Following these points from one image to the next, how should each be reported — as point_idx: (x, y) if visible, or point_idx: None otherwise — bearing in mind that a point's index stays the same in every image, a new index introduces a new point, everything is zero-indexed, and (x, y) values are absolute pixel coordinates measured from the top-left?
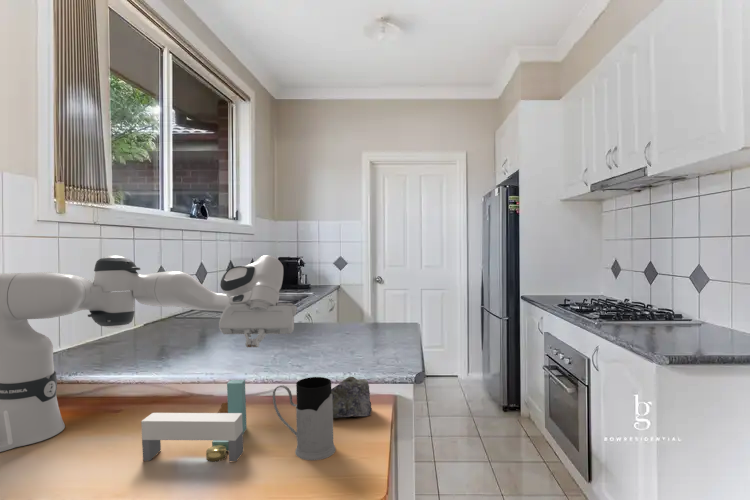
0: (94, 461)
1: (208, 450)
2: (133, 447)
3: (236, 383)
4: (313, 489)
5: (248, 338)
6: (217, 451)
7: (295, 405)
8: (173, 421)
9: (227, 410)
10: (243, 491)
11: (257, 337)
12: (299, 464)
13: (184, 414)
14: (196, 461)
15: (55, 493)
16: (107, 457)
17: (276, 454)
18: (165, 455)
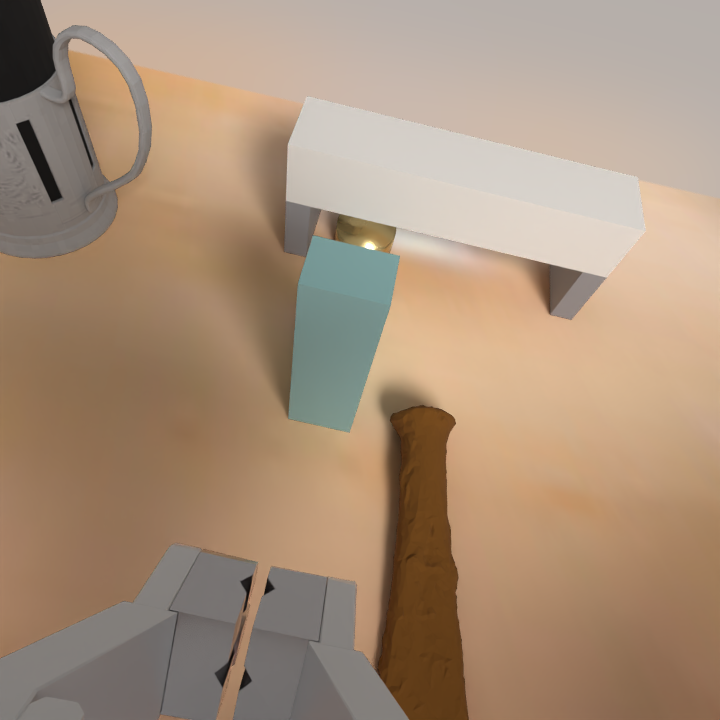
0: (704, 299)
1: (389, 226)
2: (652, 357)
3: (343, 244)
4: (107, 69)
5: (319, 640)
6: None
7: (56, 89)
8: (524, 149)
9: (408, 590)
10: (267, 100)
11: (140, 623)
12: (117, 155)
13: (512, 187)
14: (415, 234)
15: (674, 188)
16: (685, 312)
17: (178, 214)
18: (520, 285)
